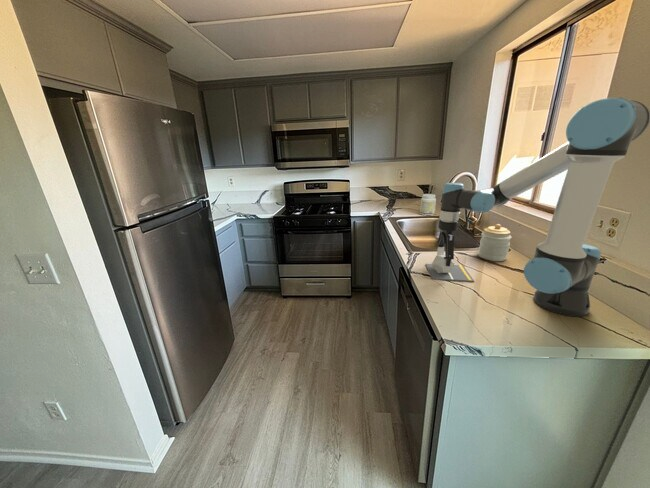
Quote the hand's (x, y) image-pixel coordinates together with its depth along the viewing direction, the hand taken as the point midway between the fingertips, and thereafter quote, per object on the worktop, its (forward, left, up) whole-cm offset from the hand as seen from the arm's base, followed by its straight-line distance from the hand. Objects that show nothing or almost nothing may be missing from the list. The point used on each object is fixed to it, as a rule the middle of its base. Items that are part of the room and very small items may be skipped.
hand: (442, 265), depth 120 cm
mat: (+1, -3, -4) cm, 5 cm away
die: (0, 0, -3) cm, 3 cm away
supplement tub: (+119, -12, -4) cm, 120 cm away
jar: (+24, -30, -4) cm, 38 cm away
